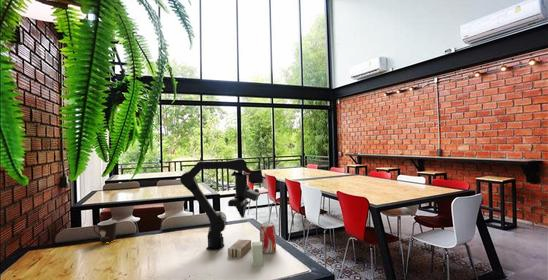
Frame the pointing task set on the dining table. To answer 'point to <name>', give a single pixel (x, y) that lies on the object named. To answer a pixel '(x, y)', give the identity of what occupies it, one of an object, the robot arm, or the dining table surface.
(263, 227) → the soda can
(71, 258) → the dining table surface
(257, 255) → the sage block
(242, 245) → the walnut block
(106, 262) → the dining table surface
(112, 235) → the coffee mug
